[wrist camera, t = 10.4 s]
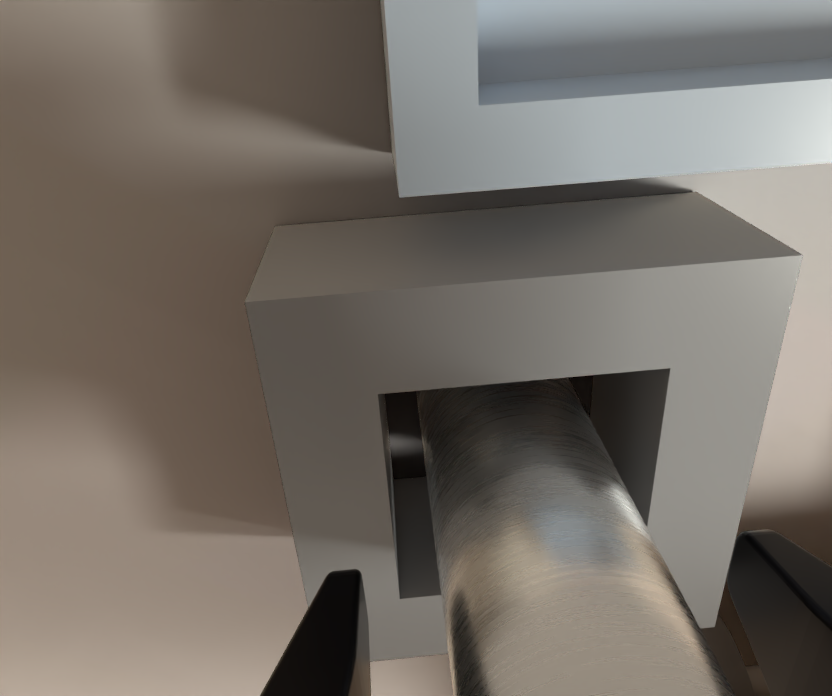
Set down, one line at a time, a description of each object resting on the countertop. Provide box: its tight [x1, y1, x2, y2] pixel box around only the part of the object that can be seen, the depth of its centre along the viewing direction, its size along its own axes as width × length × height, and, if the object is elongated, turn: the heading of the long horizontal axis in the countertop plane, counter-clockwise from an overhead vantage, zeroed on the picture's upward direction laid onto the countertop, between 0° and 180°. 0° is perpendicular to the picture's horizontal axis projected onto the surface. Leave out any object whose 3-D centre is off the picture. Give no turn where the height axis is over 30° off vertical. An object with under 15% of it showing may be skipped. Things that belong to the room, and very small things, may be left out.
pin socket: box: [245, 192, 803, 662], centre depth 11 cm, size 7×7×3 cm
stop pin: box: [416, 377, 735, 696], centre depth 8 cm, size 4×4×10 cm
